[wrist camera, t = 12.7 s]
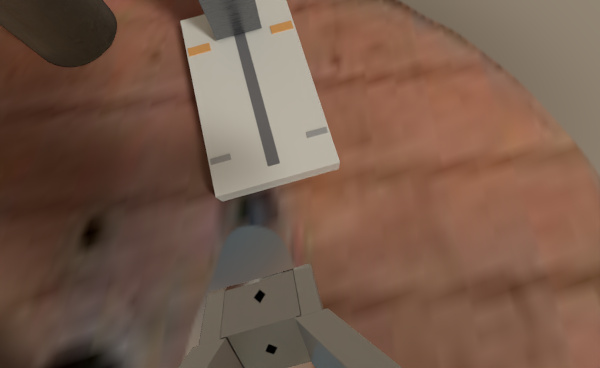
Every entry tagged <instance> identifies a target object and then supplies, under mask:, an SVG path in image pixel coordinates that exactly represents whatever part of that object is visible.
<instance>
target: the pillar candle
mask: <svg viewBox="0 0 600 368" xmlns="http://www.w3.org/2000/svg"><path fill="white" fill-rule="evenodd" d="M0 25H2V26H3V27H4V28H6V29H7V30H8V31H9V32H11V33H12V34H13V35H15V36H16V37H17V38H18V39H20V40H21V41H22V42H24V43H25V44H26V45H27V46H29V47H30V48H31V49H32V50H34V51H35V52H37V53H38V54H39V55H40V56H42V57H43V58H44V59H45V60H47V61H48V62H51V63H53V64H55V65H60V66H65V67H76V66H79V65H84V64H86V63H90V62H91V61H93V60H94V59H96V58H97V57H99V56H100V55H101V54H102V53H103V52H104V51H105V50H106V49H107V48H108V47H109V46H110V45H111V44H112V42H113V40H114V38H115V34H116V30H117V22H116V18H115V16H114V14H113V12H112V11H111V10H110V8H109V7H108V6H107V5H106V4H105V2H104V1H103V0H0Z"/></svg>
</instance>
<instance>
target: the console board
mask: <svg viewBox="0 0 600 368" xmlns="http://www.w3.org/2000/svg"><path fill="white" fill-rule="evenodd" d="M255 2H256V6H257V10H258V14H259V19H260V23H261V27H262V28H260V29H256V30H253V31H249V32H245V33H242V34H238V35H234V36H231V37H227V38H223V39H220V40H216V38H215V36H214V33H213V31H212V29H211V27H210V25H209V22H208V20H207V18H206V16H205V14H204V15H200V16H196V17H193V18H189V19H185V20H182V21H180V22H181V27H182V32H183V37H184V42H185V47H186V52H187V57H188V62H189V67H190V72H191V77H192V82H193V87H194V92H195V97H196V102H197V107H198V112H199V117H200V122H201V127H202V132H203V137H204V142H205V147H206V152H207V157H208V162H209V167H210V172H211V177H212V182H213V187H214V192H215V197H216V198H218V199H219V200H221V201H226V200H229V199H233V198H237V197H240V196H244V195H247V194H251V193H254V192H258V191H261V190H265V189H269V188H272V187H276V186H279V185H283V184H286V183H290V182H294V181H297V180H301V179H304V178H308V177H311V176H315V175H319V174H322V173H326V172H329V171H333V170H336V169H339V164H340V161H339V158H338V155H337V152H336V149H335V146H334V143H333V140H332V137H331V134H330V131H329V128H328V125H327V122H326V119H325V116H324V113H323V110H322V107H321V104H320V101H319V98H318V95H317V92H316V89H315V86H314V83H313V80H312V77H311V74H310V71H309V68H308V65H307V61H306V58H305V55H304V52H303V49H302V46H301V43H300V40H299V37H298V34H297V31H296V28H295V25H294V22H293V19H292V16H291V13H290V10H289V7H288V4H287V1H286V0H255Z"/></svg>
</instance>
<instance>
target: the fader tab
mask: <svg viewBox="0 0 600 368" xmlns="http://www.w3.org/2000/svg"><path fill="white" fill-rule="evenodd" d="M199 2H200V5H201V7H202V9H203V11H204V14H205V16H206V18H207V20H208V22H209V25H210V27H211V29H212V31H213V33H214V36H215V38H216V40H220V39H223V38H227V37H231V36H234V35H238V34H242V33H245V32H249V31H253V30H256V29H260V28H262V27H261V23H260V19H259V14H258V10H257V6H256V2H255V0H199Z"/></svg>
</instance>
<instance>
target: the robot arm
mask: <svg viewBox="0 0 600 368" xmlns="http://www.w3.org/2000/svg"><path fill="white" fill-rule="evenodd" d="M307 362H312V364H313V365H314V366H315V367H316V368H401V366H399V365H398V364H397V363H396V362H394V361H393V360H392V359H391V358H389V357H388V356H387V355H386V354H384V353H383V352H382V351H380V350H379V349H378V348H377V347H375V346H374V345H373V344H372V343H370V342H369V341H368V340H367V339H365V338H364V337H363V336H362V335H360V334H359V333H358V332H357V331H355V330H354V329H353V328H352V327H350V326H349V325H348V324H347V323H345V322H344V321H343V320H342V319H340V318H339V317H338V316H337V315H335V314H334V313H333V312H332V311H330V310H329V309H324V308H323V305H322V301H321V298H320V294H319V291H318V288H317V284H316V281H315V277H314V274H313V270H312V267H311V264H306V265H303V266H300V267H296V268H294V269H290V270H287V271H283V272H280V273H276V274H273V275H270V276H266V277H263V278H260V279H256V280H253V281H249V282H245V283H241V284H237V285H233V286H229V287H227V288H223V289H219V290H215V291H211V292H209V294H208V296H207V298H206V305H205V311H204V317H203V323H202V329H201V335H200V341H199V346H196V347H193V348H192V350H191V351H190V352H189V354H188V355H187V356H186V358H185V359H184V361H183V362H182V363H181V365H180V366H179V367H178V368H288V367H291V366H295V365H299V364H303V363H307Z"/></svg>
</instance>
